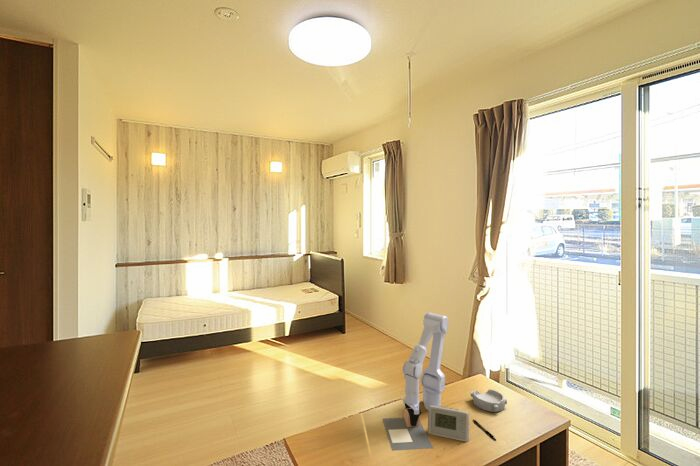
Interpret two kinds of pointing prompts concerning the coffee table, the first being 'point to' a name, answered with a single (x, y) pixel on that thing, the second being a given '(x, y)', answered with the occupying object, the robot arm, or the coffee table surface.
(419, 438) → the mat
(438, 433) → the digital clock
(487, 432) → the pen
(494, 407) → the dish
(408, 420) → the block
